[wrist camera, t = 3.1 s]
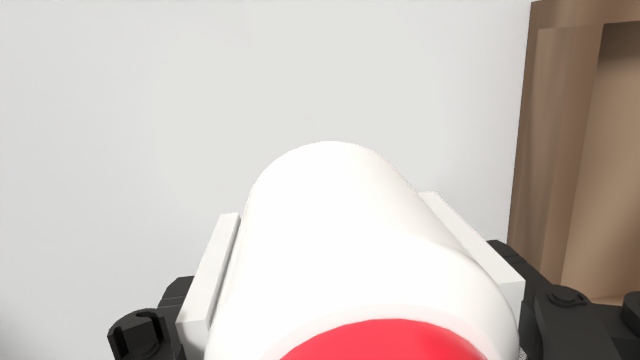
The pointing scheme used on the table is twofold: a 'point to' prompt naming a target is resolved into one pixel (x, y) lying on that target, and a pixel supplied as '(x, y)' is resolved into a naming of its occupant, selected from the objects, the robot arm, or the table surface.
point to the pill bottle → (352, 270)
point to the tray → (580, 148)
